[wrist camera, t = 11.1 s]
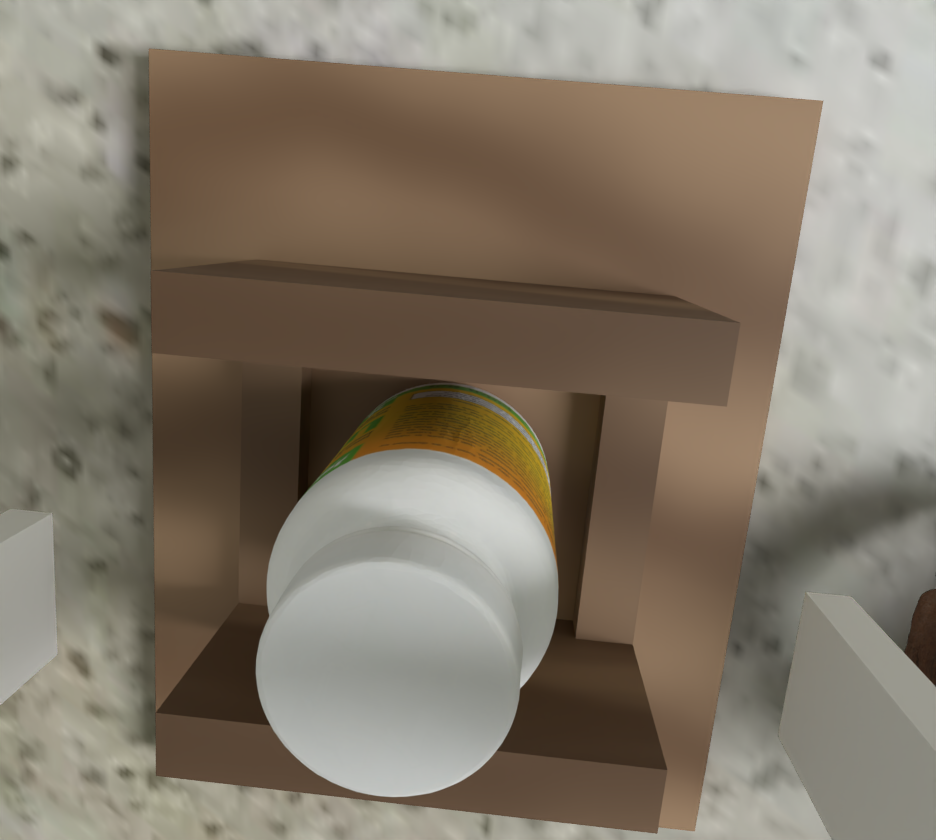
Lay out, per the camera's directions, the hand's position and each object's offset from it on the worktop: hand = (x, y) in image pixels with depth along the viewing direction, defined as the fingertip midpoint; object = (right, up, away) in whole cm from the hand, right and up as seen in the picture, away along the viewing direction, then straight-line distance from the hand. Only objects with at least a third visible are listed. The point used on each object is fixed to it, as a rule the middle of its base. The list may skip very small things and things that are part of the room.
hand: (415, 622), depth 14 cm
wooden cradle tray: (0, +2, +8) cm, 9 cm away
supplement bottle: (0, +2, +7) cm, 8 cm away
